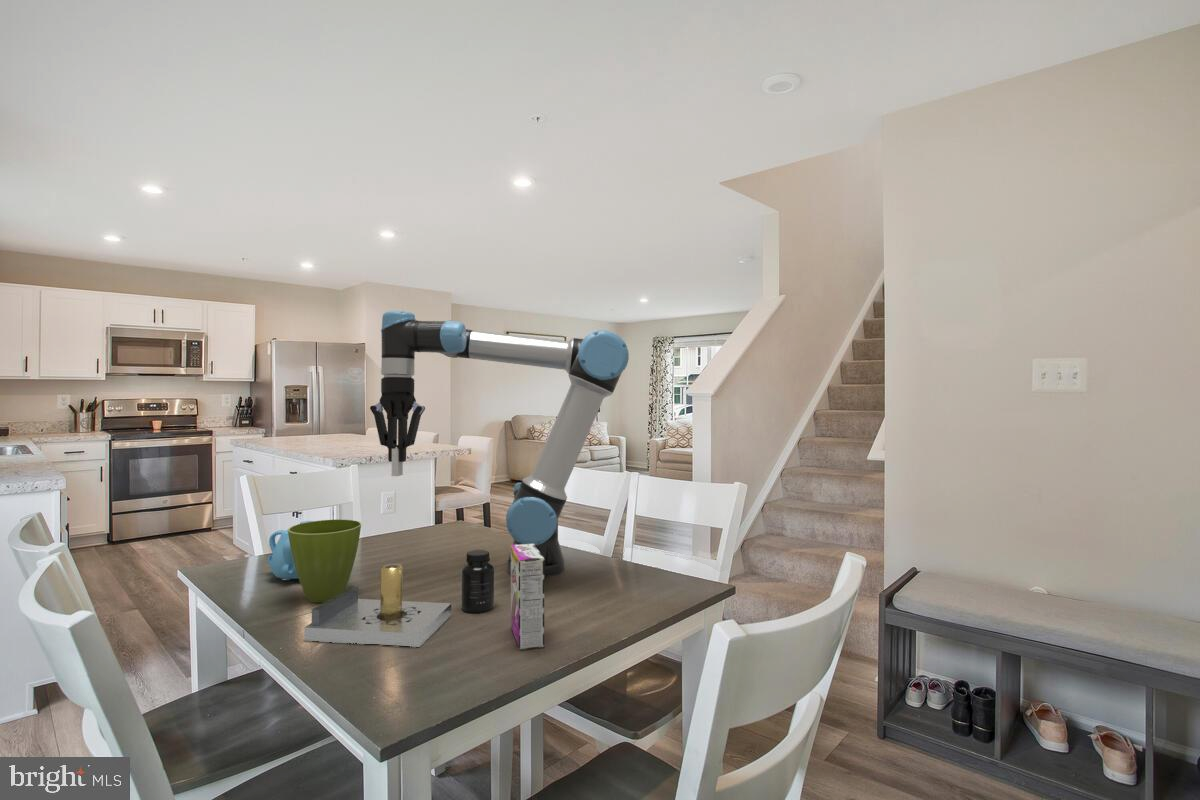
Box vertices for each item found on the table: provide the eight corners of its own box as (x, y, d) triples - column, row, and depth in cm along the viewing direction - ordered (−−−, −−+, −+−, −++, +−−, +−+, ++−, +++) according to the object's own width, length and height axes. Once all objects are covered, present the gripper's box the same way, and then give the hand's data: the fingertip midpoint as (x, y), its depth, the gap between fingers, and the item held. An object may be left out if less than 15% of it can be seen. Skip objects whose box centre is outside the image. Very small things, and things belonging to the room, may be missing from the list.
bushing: (405, 624, 117) (406, 564, 117) (396, 632, 113) (397, 570, 113) (386, 624, 117) (386, 563, 117) (376, 631, 113) (377, 569, 113)
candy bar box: (508, 627, 116) (509, 544, 116) (534, 625, 117) (534, 542, 117) (517, 651, 105) (518, 559, 105) (545, 648, 106) (546, 557, 106)
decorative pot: (348, 578, 147) (349, 523, 147) (275, 589, 137) (276, 531, 138) (333, 563, 160) (334, 513, 160) (265, 573, 151) (266, 519, 151)
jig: (451, 615, 122) (451, 588, 122) (419, 647, 106) (419, 617, 106) (350, 610, 124) (350, 584, 124) (304, 641, 108) (304, 611, 108)
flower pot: (324, 612, 123) (325, 536, 123) (271, 603, 128) (271, 530, 128) (374, 591, 137) (375, 522, 137) (325, 583, 142) (325, 517, 142)
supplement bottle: (458, 605, 128) (459, 549, 128) (489, 601, 131) (490, 547, 131) (464, 615, 122) (465, 557, 122) (497, 611, 125) (497, 554, 125)
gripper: (430, 377, 144) (429, 474, 144) (379, 377, 145) (378, 473, 145) (417, 376, 137) (416, 478, 137) (364, 376, 138) (363, 476, 138)
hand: (397, 475), depth 141 cm, fingers closed
